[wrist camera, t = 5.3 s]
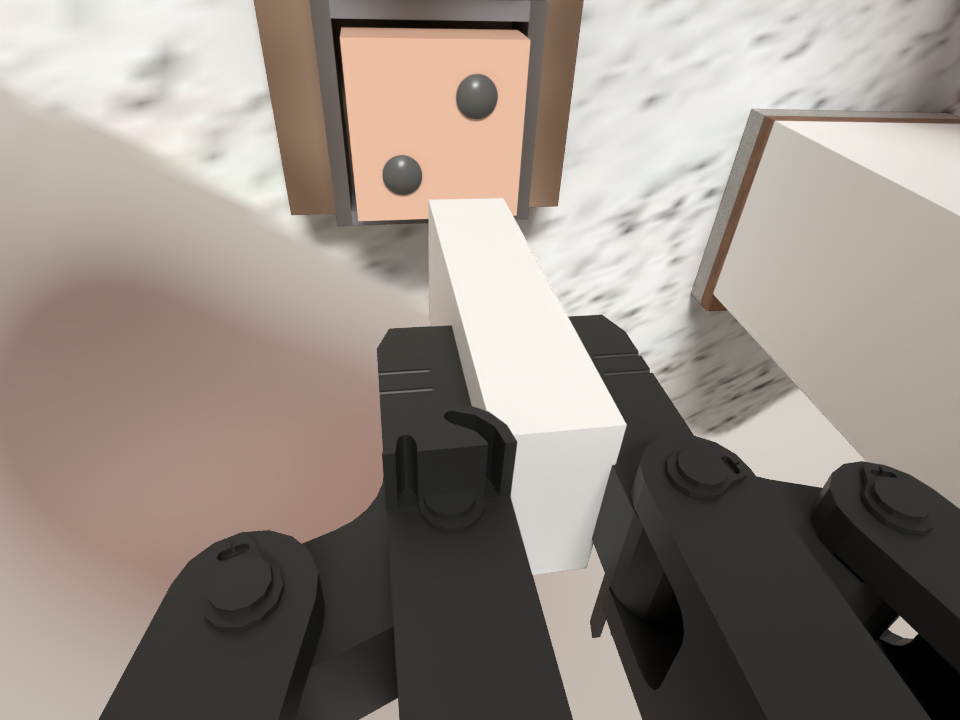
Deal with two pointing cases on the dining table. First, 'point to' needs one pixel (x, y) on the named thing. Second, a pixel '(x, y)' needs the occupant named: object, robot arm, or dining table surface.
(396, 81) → the button two dots
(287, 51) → the button panel
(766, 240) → the curved tiered shelf
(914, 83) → the dining table surface
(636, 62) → the dining table surface
